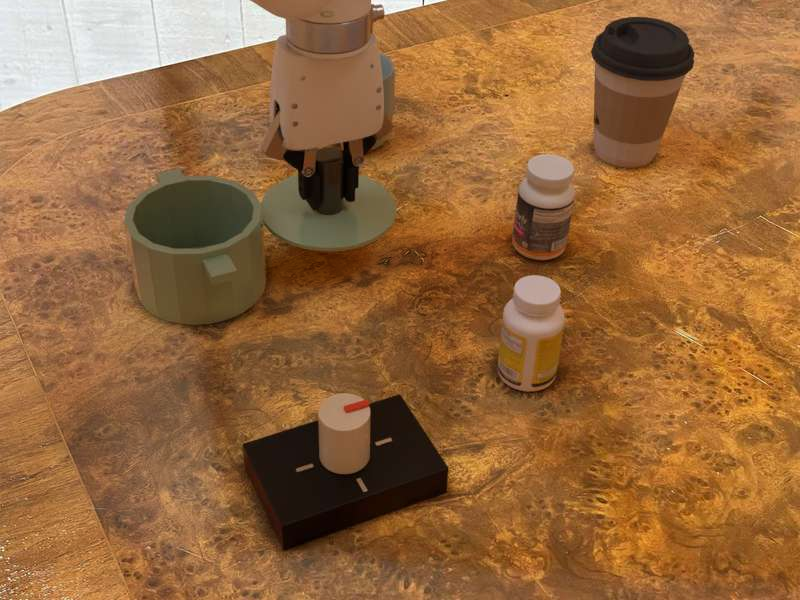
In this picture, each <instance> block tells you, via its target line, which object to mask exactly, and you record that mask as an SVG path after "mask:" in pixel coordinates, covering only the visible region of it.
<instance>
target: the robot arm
mask: <svg viewBox="0 0 800 600" xmlns="http://www.w3.org/2000/svg"><path fill="white" fill-rule="evenodd" d="M249 1H250V2H252V3H253V4H255V5H257V6H258V7H260V8H261V9H263V10H265V11H266V12H268V13H270V14H271V15H273V16H275V17H277V18H281V19H284V20H285V34H283V35H280V36H278V37H277V39H276V43H275V47H274V51H273V60H272V64H271V65H272V68H271V75H270V89H269V124H270V127H269V128H268V131H267V133H266V135H265V136H264V139H263V141H262V144H261V146H260V149H261V150H262V152H263V154H264V155H265V157H267V158H270V159H274V160H277V161H282V162H285V163H287V164H288V165H290V166H291V167H292V168H294V169H296V170H297V174H298V190H299V195H300V197H301V198H302V200H306V201H307V202H308V204H309V205H310V207H311V208H312V210H313V211H314V210H318V209H319V208H320V176H319V174H318V173H317V171H316V167H315V164H316V154H317V150H318V148H323V147H327V146H331V145H337V144H338V143H341V145H340V147H341V151H342V152H343V154H344V198H345V199H346V201H349V202H353V201H355V189H356V188H358V185H359V175H360V166H362V165H363V164H364V162H365V156H366V155H367V154H368V153H369V152H370V151H371V150H370V149H371V148H372V147H373V146H374V145H375V143H376V141H377V140H380V139H381V138H383V137H384V136H386V135H387V134H388V133H389V134H390V133H391V132H392V131H394V124H393V122H392V123H391V121H390V119H389V118H388V116H387V114H386V112H385V111H384V91H383V77H382V68H381V61H380V55H379V53H380V51H379V50H380V49H379V45H378V40H377V37H376V35H375V33H373V32H374V31H373V30H374V29H373V27H374V23H376V22H378V21H380V20H384V19H385V14H386V13H385V9H384V6H383V4H374V3H372V0H249ZM283 143H284V144H283Z"/></svg>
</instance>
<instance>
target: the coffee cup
mask: <svg viewBox="0 0 800 600" xmlns="http://www.w3.org/2000/svg"><path fill="white" fill-rule="evenodd" d="M590 53H591V57H592V60H594V87H593V88H594V90H593V91H594V94H593V95H594V96H593V138H592V141H593V146H594V153H595V154H596V156H597V158H599V159H600V160H602V161H603V162H604V163H606V164H608V165H611V166H614V167H619V168H624V169H635V168H642V167H645V166H647V165H649V164H650V163H651V162H652V161H653V160H654V158H655V156H656V155H657V154H658V151H659V148H660V145H661V143H662V141H663V137H664V135H665V132H666V129H667V126H668V124H669V121H670V118H671V115H672V113H673V110H674V107H675V105H676V101H677V99H678V96H679V93H680V91H681V89H682V86H683V82H684V80H685V78H686V75H687V74H688V73H689V72H690V71H691V70H693V68H694V64H695V60H694V58H695V55H696V54H695V51H694V49H693V47H692V45H691V44H690V38H689V36H688V34H687V33H686V32H685V31H684V30H683V29H682V28H680V27H679V26H678V25H676V24H674V23H671V22H669V21H665V20H662V19H659V18H655V17H654V18H653V17H648V16H629V17H622V18H618V19H615V20H612V21H611V22H609V23H608V24H606V25H605V28H604V30H603V31H602V32H600V33H599V34H598V35H596V36H595V39H594V41H593V44H592V47H591V50H590Z"/></svg>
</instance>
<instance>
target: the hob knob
mask: <svg viewBox="0 0 800 600" xmlns="http://www.w3.org/2000/svg"><path fill="white" fill-rule="evenodd" d="M369 404H370V403H369V401H368V399H364V398H363V397H361V396H359V395H357V394H354V393H350V392H349V393H348V392H341V393H335V394H332V395H330V396H328V397H326V398H325V399H324V400H323V401H322V402H321V403H320V405H319V406H318V410H317V420H318V424H319V456H320V461H321V463H322V464H323V466H324V467H325V468H326V469H328V470H329V471H331V472H334V473H337V474H351V473H355V472H357V471H359V470H361V469H362V468H364V467H365V466H366V464H367V463H368V461H369V458H370V413H371V412H370V407H369Z"/></svg>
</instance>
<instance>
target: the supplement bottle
mask: <svg viewBox="0 0 800 600" xmlns="http://www.w3.org/2000/svg"><path fill="white" fill-rule="evenodd" d="M513 286H514V287H513V293H512V297H511V299H509V300H508V301H507V302H506V303H505V306H504V308H503V310H502V318H501V328H500V336H499V344H498V345H499V346H498V354H497V366H496V367H497V374H498V377H499V378H500V380H501V381H502V382H503V383H504V384H506V385H507V386H508V387H510V388H512V389H514V390H517V391H521V392H538V391H541V390H545V389H546V388H548V387H549V386H551V385H552V383H554V381H555V380H556V378H557V377H556V376H557V372H558V367H559V359H560V354H561V349H562V348H561V347H562V342H563V335H564V329H565V322H566V321H565V320H566V319H565V312H564V309H563V307H562V305H560V302H561V295H562V291H561V287H560V285H559V284H558V283H557V282H556V281H555V280H553V279H552V278H549V277H547V276H544V275H539V274H537V275H536V274H535V275H534V274H531V275H526V276H523V277H521V278H519V279H518V280H517V281H516V282H515V284H514V285H513Z"/></svg>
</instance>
